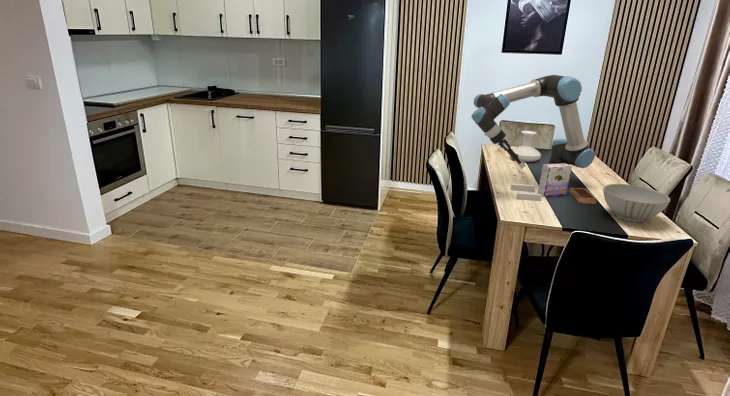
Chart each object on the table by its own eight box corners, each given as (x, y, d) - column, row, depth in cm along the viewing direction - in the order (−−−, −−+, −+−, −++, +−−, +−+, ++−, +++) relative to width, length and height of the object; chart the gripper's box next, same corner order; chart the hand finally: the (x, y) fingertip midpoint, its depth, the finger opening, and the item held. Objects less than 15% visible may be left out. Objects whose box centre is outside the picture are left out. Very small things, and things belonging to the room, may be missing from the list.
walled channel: (533, 190, 233) (534, 185, 232) (540, 200, 218) (542, 195, 217) (510, 188, 234) (511, 183, 233) (516, 199, 219) (517, 193, 218)
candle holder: (542, 159, 296) (547, 132, 289) (536, 165, 280) (541, 136, 273) (513, 154, 306) (517, 128, 299) (505, 160, 290) (510, 132, 283)
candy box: (559, 191, 232) (565, 162, 226) (566, 195, 227) (572, 165, 221) (537, 192, 229) (542, 163, 223) (543, 196, 224) (549, 166, 218)
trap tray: (584, 193, 230) (585, 188, 229) (595, 204, 215) (597, 199, 214) (569, 192, 231) (570, 187, 230) (579, 203, 216) (580, 197, 215)
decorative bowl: (637, 232, 184) (644, 206, 180) (585, 210, 207) (590, 186, 203) (676, 224, 195) (684, 199, 190) (622, 203, 218) (628, 181, 213)
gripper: (487, 136, 224) (515, 168, 228) (491, 141, 212) (520, 175, 216) (498, 126, 221) (526, 159, 226) (503, 131, 209) (532, 165, 213)
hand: (523, 167), depth 221 cm, fingers closed
